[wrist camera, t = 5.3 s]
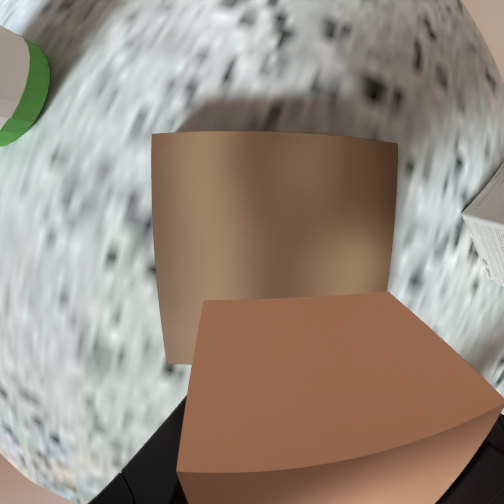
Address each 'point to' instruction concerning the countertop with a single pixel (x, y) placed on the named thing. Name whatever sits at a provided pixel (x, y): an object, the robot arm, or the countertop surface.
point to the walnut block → (266, 220)
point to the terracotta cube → (327, 404)
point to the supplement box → (489, 226)
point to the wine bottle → (20, 84)
